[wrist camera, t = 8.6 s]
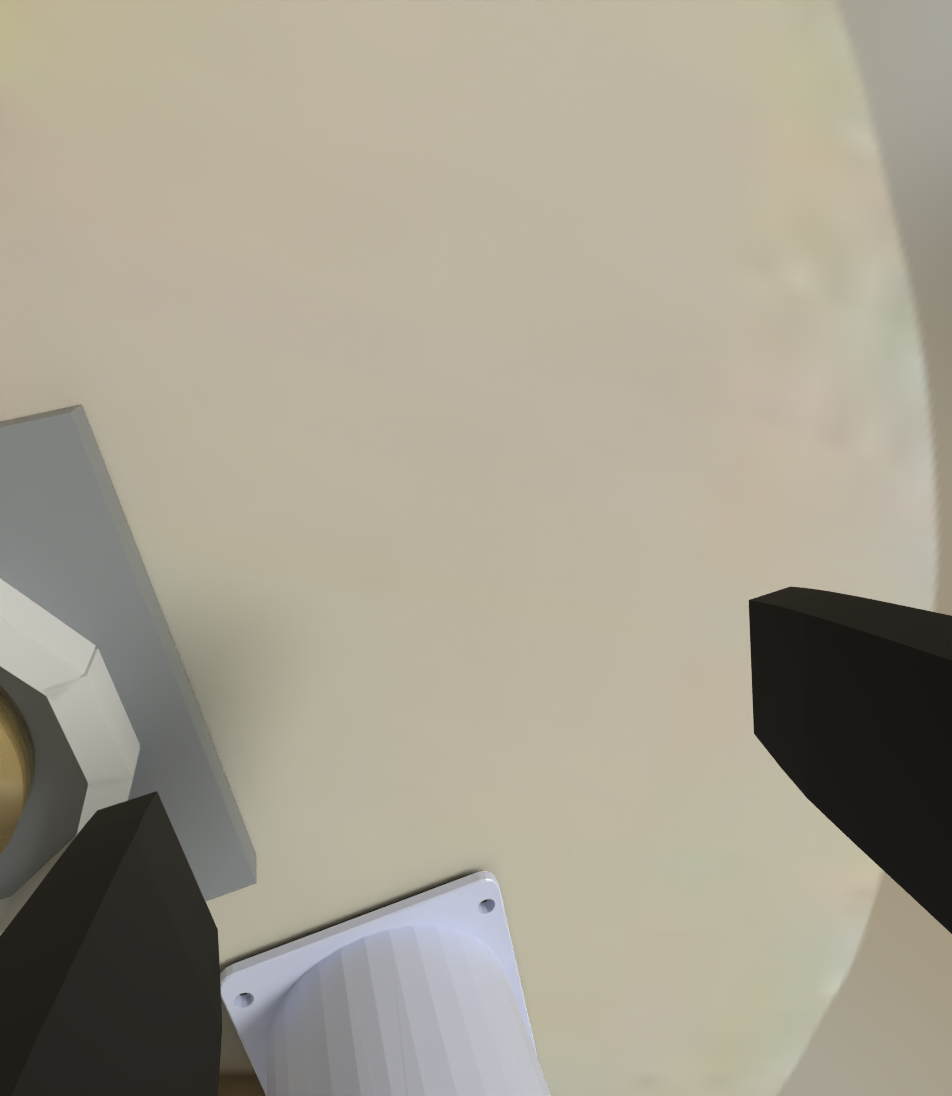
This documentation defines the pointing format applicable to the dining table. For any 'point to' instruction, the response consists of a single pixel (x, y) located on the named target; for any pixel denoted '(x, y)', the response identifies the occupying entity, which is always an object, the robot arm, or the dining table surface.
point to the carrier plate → (96, 668)
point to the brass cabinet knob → (14, 766)
